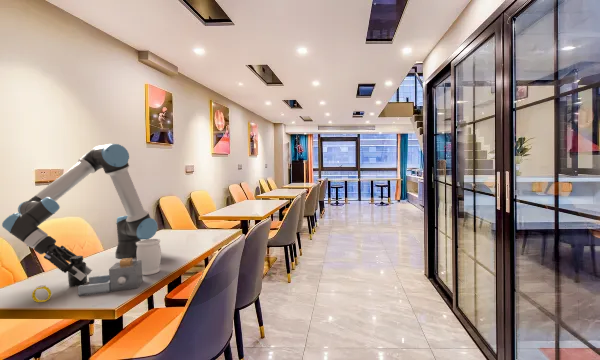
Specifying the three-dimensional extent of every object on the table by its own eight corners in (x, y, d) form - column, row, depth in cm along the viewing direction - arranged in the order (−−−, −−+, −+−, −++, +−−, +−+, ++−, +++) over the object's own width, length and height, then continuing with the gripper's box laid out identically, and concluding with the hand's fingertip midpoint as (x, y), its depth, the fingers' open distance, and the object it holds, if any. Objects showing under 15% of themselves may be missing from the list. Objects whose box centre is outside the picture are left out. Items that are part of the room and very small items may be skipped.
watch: (31, 304, 126) (29, 289, 125) (36, 301, 128) (34, 286, 128) (49, 301, 127) (46, 286, 126) (53, 298, 129) (51, 283, 129)
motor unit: (90, 285, 143) (88, 260, 142) (143, 279, 148) (141, 255, 147) (76, 298, 129) (74, 270, 129) (135, 290, 134) (133, 263, 134)
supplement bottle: (89, 283, 146) (87, 256, 145) (71, 288, 141) (68, 260, 140) (84, 280, 150) (83, 253, 150) (66, 284, 145) (64, 257, 145)
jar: (146, 277, 151) (144, 244, 150) (133, 274, 156) (131, 242, 155) (166, 270, 160) (164, 239, 159) (153, 267, 165) (151, 237, 164)
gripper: (46, 243, 151) (89, 275, 155) (20, 254, 131) (70, 290, 136) (58, 231, 152) (100, 262, 156) (35, 240, 132) (84, 275, 137)
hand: (86, 275), depth 146 cm, fingers closed on supplement bottle, 7 cm apart
